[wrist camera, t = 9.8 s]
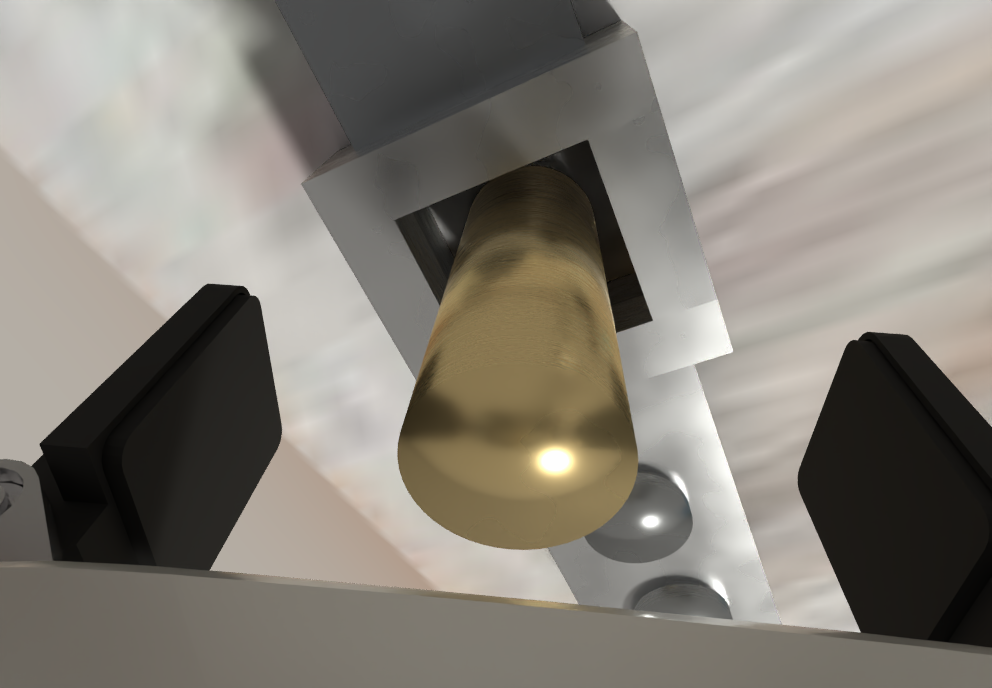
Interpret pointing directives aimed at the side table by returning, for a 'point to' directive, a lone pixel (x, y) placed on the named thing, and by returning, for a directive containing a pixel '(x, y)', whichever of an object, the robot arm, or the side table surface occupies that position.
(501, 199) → the pin
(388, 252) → the gray studded rail
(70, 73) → the side table surface
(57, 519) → the robot arm
